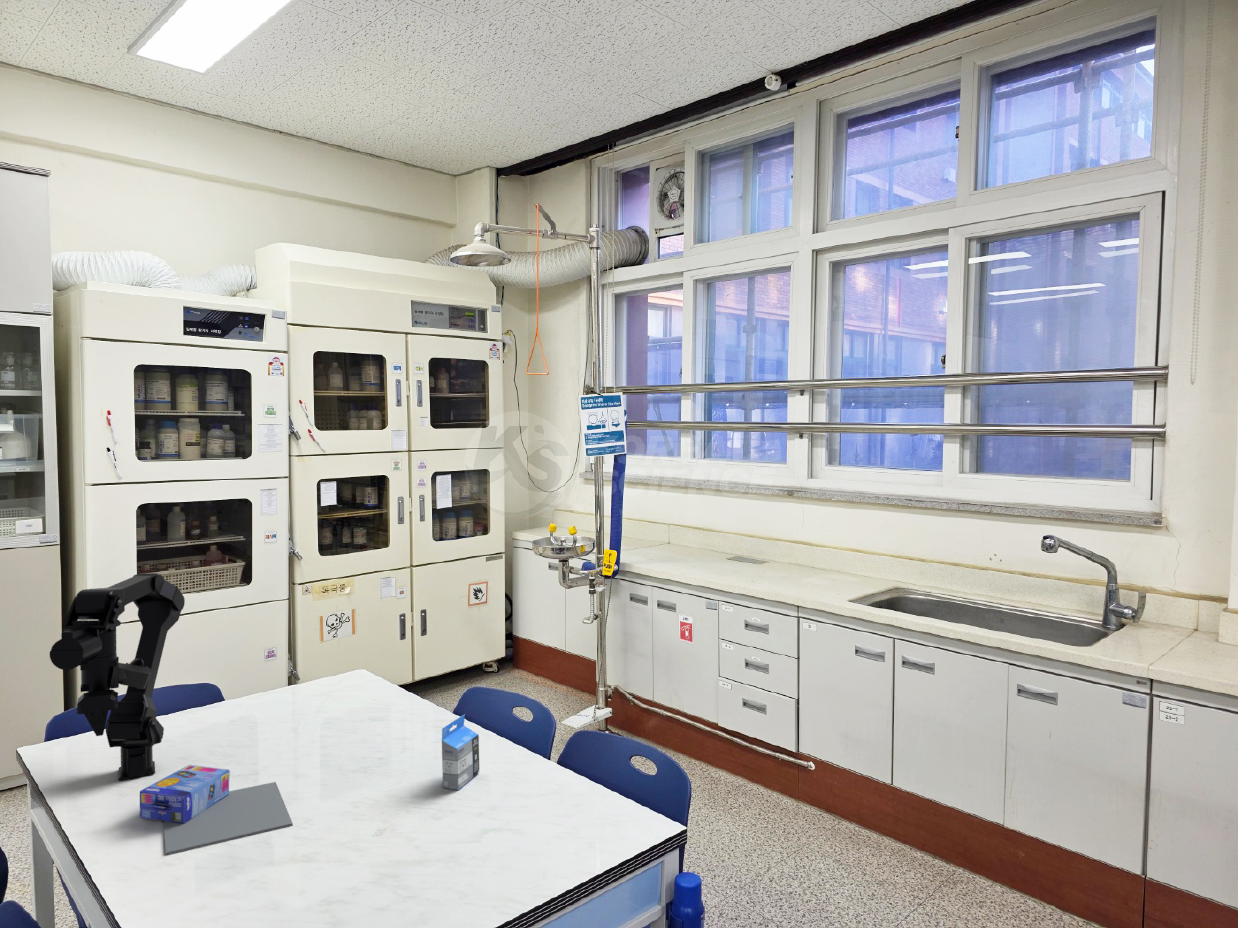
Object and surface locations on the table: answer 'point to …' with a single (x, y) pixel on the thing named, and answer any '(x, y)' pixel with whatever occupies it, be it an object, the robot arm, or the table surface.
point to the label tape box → (459, 754)
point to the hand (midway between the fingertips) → (99, 735)
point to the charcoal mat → (230, 819)
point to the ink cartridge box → (184, 794)
